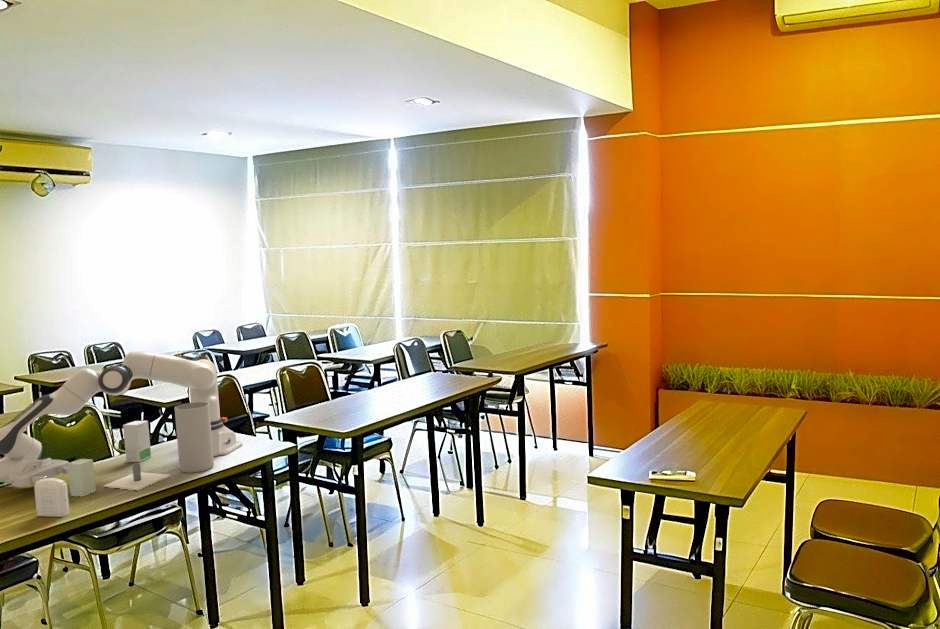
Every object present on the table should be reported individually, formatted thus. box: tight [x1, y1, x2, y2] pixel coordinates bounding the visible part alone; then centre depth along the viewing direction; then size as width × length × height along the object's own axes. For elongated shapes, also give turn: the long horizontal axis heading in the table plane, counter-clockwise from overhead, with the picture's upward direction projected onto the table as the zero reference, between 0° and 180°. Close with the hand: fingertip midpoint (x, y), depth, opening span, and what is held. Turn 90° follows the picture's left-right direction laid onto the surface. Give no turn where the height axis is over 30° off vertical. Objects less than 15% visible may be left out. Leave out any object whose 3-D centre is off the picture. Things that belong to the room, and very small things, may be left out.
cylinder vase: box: [174, 402, 215, 474], centre depth 283 cm, size 12×12×25 cm
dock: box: [103, 462, 171, 492], centre depth 270 cm, size 16×16×7 cm
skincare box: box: [122, 420, 152, 463], centre depth 299 cm, size 8×7×16 cm
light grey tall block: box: [68, 458, 97, 498], centre depth 259 cm, size 6×6×12 cm
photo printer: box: [33, 477, 70, 518], centre depth 238 cm, size 10×4×12 cm, turn 81°
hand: (56, 475), depth 263 cm, fingers open, 8 cm apart
